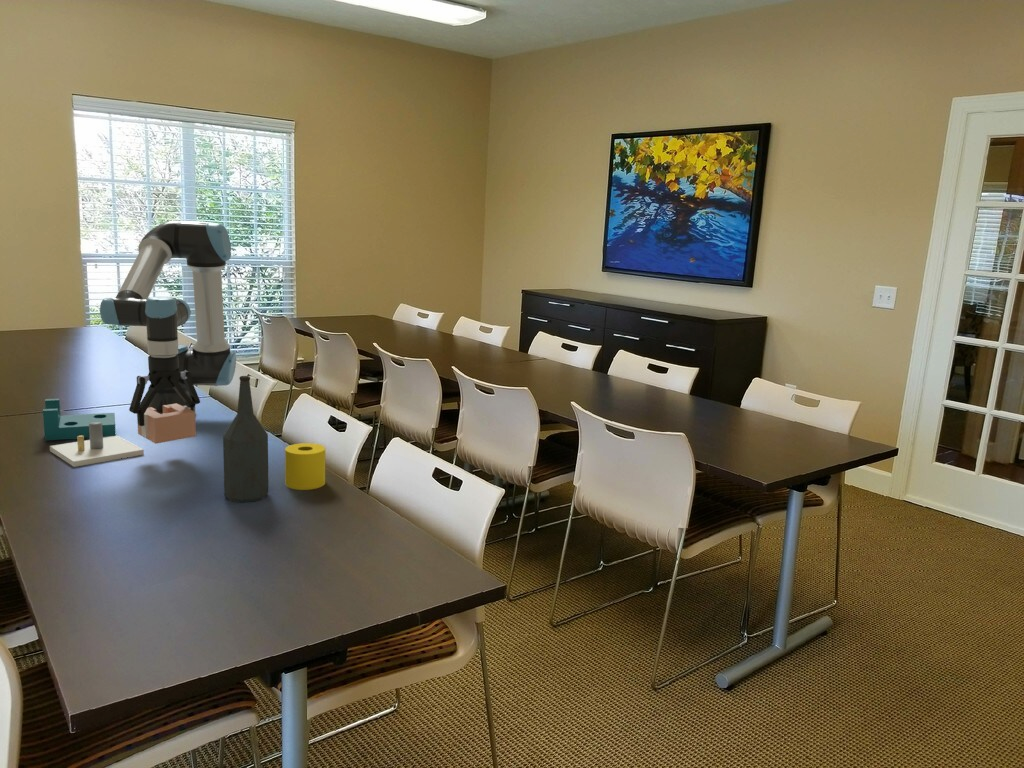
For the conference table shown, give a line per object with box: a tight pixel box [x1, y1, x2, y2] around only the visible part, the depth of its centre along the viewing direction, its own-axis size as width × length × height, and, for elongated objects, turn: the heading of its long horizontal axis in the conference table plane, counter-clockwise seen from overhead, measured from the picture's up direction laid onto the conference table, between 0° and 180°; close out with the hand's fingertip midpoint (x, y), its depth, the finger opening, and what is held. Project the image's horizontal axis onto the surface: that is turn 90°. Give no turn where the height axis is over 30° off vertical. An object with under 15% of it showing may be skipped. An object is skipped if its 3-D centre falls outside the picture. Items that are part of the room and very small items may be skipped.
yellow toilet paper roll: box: [284, 442, 326, 491], centre depth 198 cm, size 10×10×9 cm
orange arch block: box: [137, 403, 197, 444], centre depth 210 cm, size 11×11×7 cm
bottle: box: [222, 375, 269, 503], centre depth 185 cm, size 10×10×30 cm
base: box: [49, 422, 145, 468], centre depth 213 cm, size 18×18×8 cm
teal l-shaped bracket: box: [42, 398, 116, 441], centre depth 228 cm, size 18×11×10 cm, turn 117°
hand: (167, 432), depth 211 cm, fingers closed on orange arch block, 11 cm apart
